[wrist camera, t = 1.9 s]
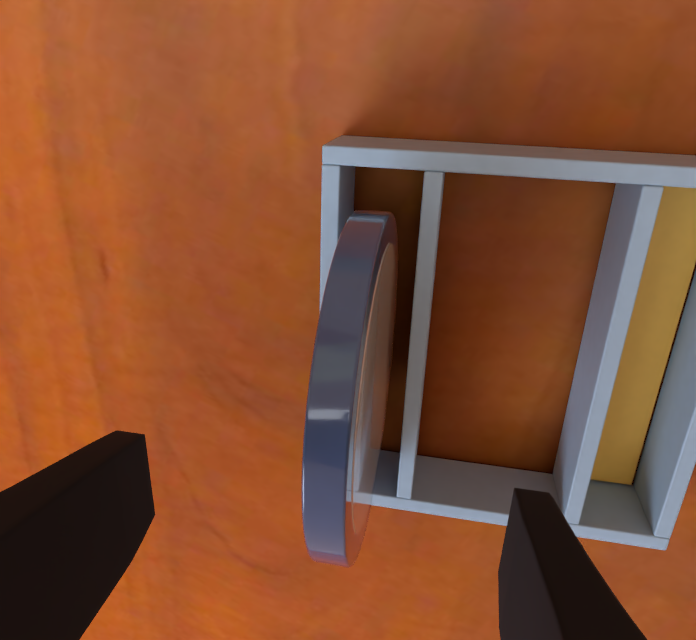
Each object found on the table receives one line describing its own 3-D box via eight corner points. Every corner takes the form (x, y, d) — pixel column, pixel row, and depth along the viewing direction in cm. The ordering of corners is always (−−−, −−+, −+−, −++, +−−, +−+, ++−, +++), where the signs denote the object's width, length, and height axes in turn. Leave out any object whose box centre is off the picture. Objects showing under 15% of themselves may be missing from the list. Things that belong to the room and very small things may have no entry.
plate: (387, 432, 21) (339, 657, 13) (362, 429, 21) (299, 649, 13) (406, 183, 18) (355, 278, 9) (375, 181, 18) (300, 273, 10)
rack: (644, 497, 20) (666, 551, 18) (331, 453, 22) (316, 497, 20) (747, 158, 16) (795, 173, 13) (340, 135, 17) (321, 144, 15)
